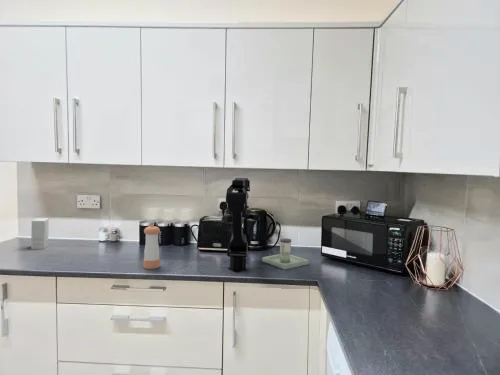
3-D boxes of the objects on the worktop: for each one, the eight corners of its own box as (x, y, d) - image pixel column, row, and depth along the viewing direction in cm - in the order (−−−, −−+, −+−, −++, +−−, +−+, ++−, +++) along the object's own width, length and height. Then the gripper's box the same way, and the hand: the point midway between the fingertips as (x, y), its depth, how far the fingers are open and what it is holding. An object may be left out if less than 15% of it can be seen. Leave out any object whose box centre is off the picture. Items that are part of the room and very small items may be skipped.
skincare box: (35, 246, 184) (35, 218, 184) (49, 245, 186) (49, 217, 186) (30, 249, 176) (30, 220, 176) (45, 249, 178) (44, 220, 178)
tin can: (290, 263, 160) (290, 241, 159) (278, 262, 161) (279, 240, 160) (290, 260, 165) (291, 238, 164) (280, 259, 166) (280, 238, 165)
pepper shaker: (155, 269, 147) (155, 226, 146) (140, 268, 149) (140, 225, 148) (162, 265, 154) (163, 224, 153) (148, 263, 156) (148, 223, 155)
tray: (283, 269, 152) (283, 265, 152) (262, 261, 165) (262, 257, 165) (308, 264, 161) (308, 260, 161) (286, 256, 174) (286, 253, 174)
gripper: (247, 201, 173) (247, 230, 174) (216, 202, 163) (215, 234, 163) (260, 203, 164) (259, 234, 165) (228, 205, 153) (227, 238, 154)
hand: (240, 235), depth 162 cm, fingers open, 9 cm apart
